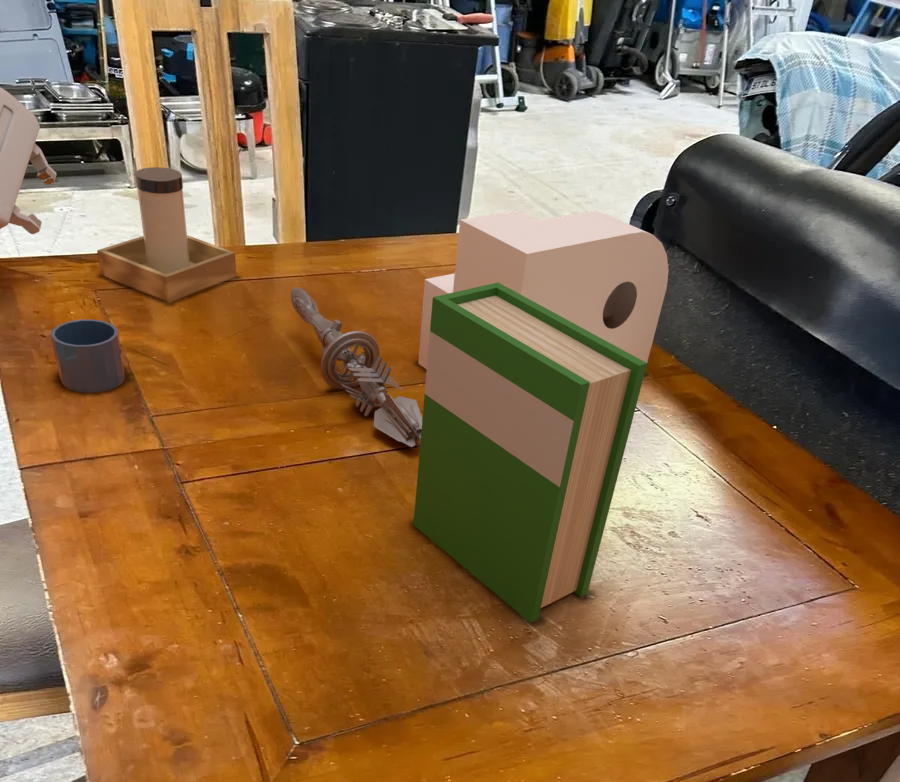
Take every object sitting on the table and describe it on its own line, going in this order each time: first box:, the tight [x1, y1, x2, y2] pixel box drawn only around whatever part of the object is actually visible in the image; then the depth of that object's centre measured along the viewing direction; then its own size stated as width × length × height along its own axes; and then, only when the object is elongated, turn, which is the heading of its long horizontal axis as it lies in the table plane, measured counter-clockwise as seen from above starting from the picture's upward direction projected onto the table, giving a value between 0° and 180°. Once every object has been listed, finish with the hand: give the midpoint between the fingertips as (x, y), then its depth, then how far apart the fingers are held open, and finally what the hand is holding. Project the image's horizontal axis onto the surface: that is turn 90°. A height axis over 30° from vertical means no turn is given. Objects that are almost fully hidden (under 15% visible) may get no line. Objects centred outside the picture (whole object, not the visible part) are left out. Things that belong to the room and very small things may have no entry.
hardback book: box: [412, 282, 648, 624], centre depth 80 cm, size 18×7×24 cm, turn 39°
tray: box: [96, 234, 237, 303], centre depth 130 cm, size 14×14×4 cm
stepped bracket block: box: [417, 209, 670, 370], centre depth 113 cm, size 26×17×20 cm, turn 128°
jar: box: [134, 166, 190, 274], centre depth 126 cm, size 6×6×14 cm
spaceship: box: [290, 286, 423, 449], centre depth 108 cm, size 8×35×8 cm
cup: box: [50, 318, 126, 394], centre depth 104 cm, size 7×7×6 cm
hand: (45, 204), depth 122 cm, fingers open, 8 cm apart
